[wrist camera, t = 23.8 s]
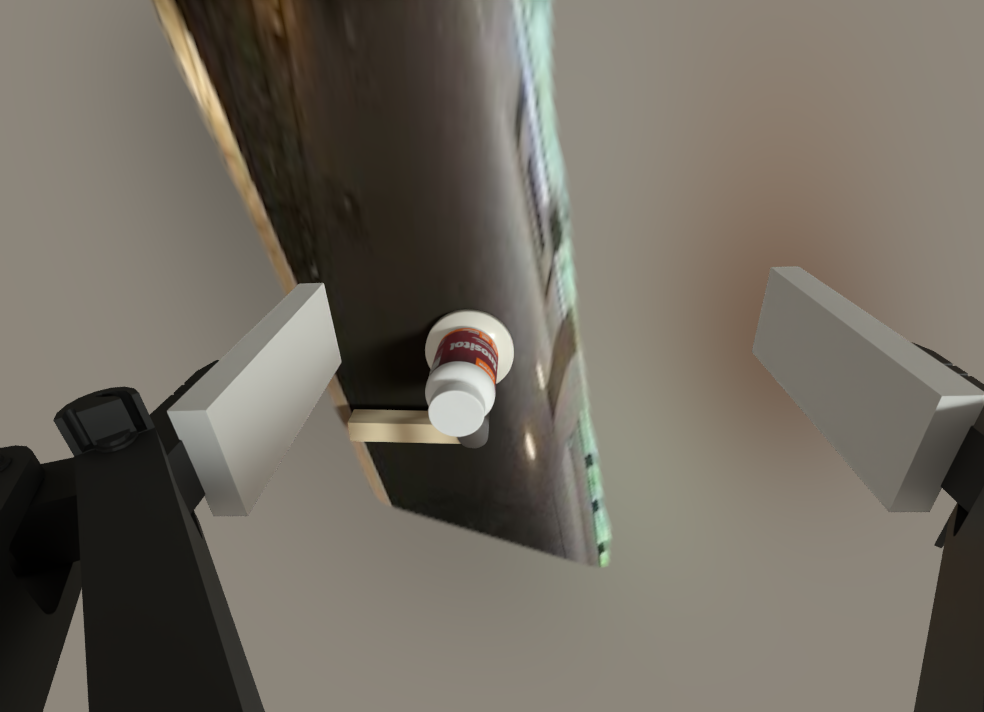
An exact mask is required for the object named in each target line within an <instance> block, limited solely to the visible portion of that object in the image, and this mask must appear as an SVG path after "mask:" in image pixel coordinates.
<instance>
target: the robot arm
mask: <svg viewBox="0 0 984 712" xmlns="http://www.w3.org/2000/svg"><path fill="white" fill-rule="evenodd" d="M752 352H753V354H754V355H755V356H756V357H757V358H758V360H759V361H760V362H761V363H762V364H763V365H764V367H765V368H766V369H767V370H768V371H769V372H770V374H771V375H772V376H773V377H774V378H775V379H776V381H777V382H778V383H779V384H780V385H781V386H782V388H784V390H785V391H786V392H787V393H788V395H789V396H790V397H791V398H792V399H793V400H794V402H795V403H796V404H797V405H798V406H799V408H801V410H802V411H803V412H804V413H805V415H806V416H807V417H808V418H809V419H810V420H811V421H812V423H813V424H814V425H815V426H816V427H817V429H818V430H819V431H820V432H821V433H822V434H823V436H824V437H825V438H826V439H827V440H828V441H829V442H830V444H831V445H832V446H833V447H834V448H835V450H836V451H837V452H838V453H839V454H840V455H841V457H842V458H843V459H844V460H845V461H846V462H847V464H848V465H849V466H850V467H851V468H852V470H853V471H854V472H855V473H856V474H857V475H858V477H859V478H860V479H861V480H862V481H863V482H864V484H865V485H866V486H867V487H868V488H869V489H870V491H871V492H872V493H873V494H874V495H875V496H876V498H877V499H878V500H879V501H880V502H881V503H882V505H883V506H884V507H885V508H886V509H887V510H888V512H930V510H931V508H932V506H933V504H934V502H935V500H936V498H937V496H938V494H939V492H940V490H941V488H943V489H944V490H945V491H946V492H947V493H948V494H949V495H950V496H951V497H952V498H953V499H954V500H955V501H956V502H957V504H956V506H955V508H954V510H953V511H952V513H951V515H950V517H949V519H948V521H947V523H946V524H945V526H944V528H943V530H942V532H941V534H940V535H939V537H938V539H937V541H936V543H935V546H937V547H940V548H942V547H943V546H944V549H943V554H942V560H941V566H940V571H939V576H938V582H937V587H936V593H935V598H934V604H933V609H932V615H931V620H930V626H929V632H928V637H927V642H926V648H925V653H924V659H923V664H922V670H921V675H920V681H919V686H918V692H917V697H916V703H915V708H914V712H984V384H982V383H981V382H980V381H978V380H977V379H975V378H974V377H972V376H968V374H967V373H966V372H965V371H963V370H961V369H960V368H958V367H957V366H952V363H951V362H949V361H948V360H946V359H945V358H943V357H942V356H940V355H939V354H937V353H936V352H934V351H932V350H929V349H927V348H925V347H922V346H920V345H917V344H915V343H912V342H910V341H908V340H907V339H905V338H904V337H902V336H901V335H899V334H898V333H896V332H895V331H893V330H892V329H890V328H889V327H888V326H886V325H885V324H883V323H882V322H880V321H879V320H877V319H876V318H874V317H873V316H871V315H870V314H868V313H867V312H865V311H864V310H862V309H861V308H859V307H858V306H856V305H855V304H853V303H852V302H850V301H849V300H848V299H846V298H845V297H843V296H842V295H840V294H839V293H837V292H835V291H834V290H833V289H831V288H830V287H828V286H827V285H825V284H824V283H822V282H821V281H819V280H818V279H816V278H815V277H813V276H812V275H811V274H809V273H808V272H806V271H804V270H803V269H802V268H800V267H798V266H796V267H771V269H770V274H769V278H768V283H767V287H766V291H765V296H764V300H763V305H762V309H761V314H760V318H759V322H758V327H757V331H756V336H755V340H754V344H753V349H752ZM340 364H341V357H340V353H339V349H338V344H337V340H336V335H335V331H334V327H333V322H332V318H331V313H330V309H329V305H328V300H327V296H326V291H325V287H324V283H309V284H298V285H297V286H296V287H295V288H294V289H293V290H292V291H291V292H290V293H289V294H288V295H287V296H286V297H285V298H284V299H283V300H282V301H281V302H280V303H279V304H278V305H276V307H274V308H273V309H272V310H271V311H270V312H269V313H268V314H267V315H266V316H265V317H264V318H263V319H262V320H261V321H260V322H259V323H258V324H257V325H256V326H255V327H254V328H253V329H252V330H250V331H249V332H248V333H247V334H246V335H245V337H243V338H242V339H241V340H240V341H239V342H238V343H237V344H236V345H235V346H234V347H233V348H232V349H231V350H230V351H229V352H228V353H227V354H226V355H224V357H222V358H221V359H220V360H216V361H214V362H212V363H210V364H209V365H207V366H205V367H203V368H202V369H200V370H198V371H196V372H195V373H194V374H193V375H192V376H191V377H190V378H189V379H188V380H187V381H186V382H185V385H181V386H180V387H179V388H178V389H177V390H176V391H175V392H174V395H171V396H170V397H168V399H166V400H165V401H164V402H163V403H162V404H161V405H160V406H159V407H158V408H157V409H156V410H154V411H153V412H152V413H151V414H150V415H149V414H148V412H147V409H146V407H145V405H144V403H143V401H142V399H141V397H140V394H139V393H138V392H137V391H136V390H135V389H134V388H129V387H115V388H109V389H104V390H100V391H96V392H93V393H91V394H88V395H85V396H83V397H80V398H78V399H76V400H75V401H73V402H71V403H69V404H67V405H66V406H65V407H63V408H62V409H61V410H60V411H59V412H57V414H56V416H55V418H54V422H55V424H56V426H57V427H58V429H59V430H60V432H61V434H62V436H63V438H64V439H65V441H66V443H67V444H68V446H69V448H70V450H71V451H72V453H73V455H74V457H73V458H69V459H63V460H59V461H54V462H49V463H44V464H40V462H39V461H38V459H37V458H36V456H35V455H34V453H33V451H32V450H31V449H29V448H28V447H27V446H16V445H15V446H9V447H4V448H0V712H43V709H44V706H45V703H46V700H47V696H48V693H49V690H50V687H51V684H52V680H53V677H54V674H55V671H56V668H57V665H58V661H59V658H60V655H61V652H62V649H63V646H64V642H65V639H66V636H67V633H68V629H69V626H70V623H71V620H72V617H73V614H74V610H75V607H76V604H77V601H78V598H79V594H80V591H81V588H82V597H83V613H84V614H83V615H84V632H85V650H86V665H87V666H86V667H87V685H88V702H89V712H265V711H264V708H263V705H262V702H261V699H260V696H259V693H258V691H257V688H256V685H255V682H254V679H253V676H252V673H251V670H250V667H249V665H248V662H247V659H246V656H245V653H244V650H243V647H242V645H241V641H240V638H239V636H238V633H237V630H236V627H235V624H234V621H233V618H232V616H231V613H230V610H229V607H228V604H227V601H226V598H225V595H224V592H223V590H222V586H221V584H220V581H219V578H218V575H217V572H216V569H215V566H214V564H213V560H212V558H211V555H210V552H209V549H208V546H207V543H206V540H205V537H204V535H203V531H202V529H201V526H200V523H199V520H198V518H197V516H196V514H195V512H194V509H195V508H196V506H197V505H198V504H199V502H200V501H201V500H202V498H203V497H204V496H205V498H206V500H207V503H208V505H209V507H210V510H211V512H212V514H213V516H248V515H249V513H250V512H251V510H252V509H253V507H254V505H255V504H256V502H257V500H258V499H259V497H260V495H261V494H262V492H263V490H264V489H265V487H266V485H267V484H268V482H269V480H270V479H271V477H272V476H273V474H274V472H275V470H276V469H277V467H278V466H279V464H280V462H281V461H282V459H283V457H284V456H285V454H286V453H287V451H288V449H289V448H290V446H291V444H292V442H293V441H294V439H295V438H296V436H297V434H298V433H299V431H300V430H301V428H302V426H303V425H304V423H305V421H306V420H307V418H308V416H309V415H310V413H311V411H312V410H313V408H314V406H315V405H316V403H317V402H318V400H319V398H320V397H321V395H322V393H323V392H324V390H325V388H326V387H327V385H328V383H329V382H330V380H331V378H332V377H333V375H334V374H335V372H336V370H337V369H338V367H339V365H340Z"/></svg>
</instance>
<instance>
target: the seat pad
mask: <svg viewBox="0 0 984 712" xmlns="http://www.w3.org/2000/svg"><path fill="white" fill-rule="evenodd" d="M459 327H475V328H478V329H481V330H483V331H484V332H486V333H487V334H488V335H490V336H491V337H492V339H493V340H494V342H495V343H496V346H497V349H498V369H497V380H496V384H497V383H498V382H500V381H501V380H502V379H503V378H504V377H505V376H506V375H507V373H508V372H509V370H510V368H511V365H512V363H513V357H514V346H513V340H512V337H511V335H510V332H509V331H508V329H507V328H506V326H505V325H504V324H503V323H502V322H501V321H500V320H499V319H497V318H496V317H495V316H493V315H491V314H489V313H487V312H484V311H481V310H476V309H461V310H456V311H453V312H450V313H448V314H446V315H444V316H443V317H441V318H440V319H439V320H438V321H437V322H436V323H435V324H434V325H433V327H432V329H431V330H430V333H429V335H428V338H427V341H426V346H425V355H426V360H427V362H428V365H429V367H430V369H431V368H432V364H433V361H434V358H435V355H436V352H437V348H438V346H439V343H440V341H441V340H442V338H443V337H444V336H445V335H446V334H447V333H448V332H449V331H451V330H453V329H456V328H459Z"/></svg>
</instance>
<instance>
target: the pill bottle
mask: <svg viewBox="0 0 984 712" xmlns="http://www.w3.org/2000/svg"><path fill="white" fill-rule="evenodd" d="M497 369H498V349H497V346H496V343H495V342H494V340H493V339H492V337H491V336H490V335H488V334H487V333H486V332H484V331H483V330H481V329H478V328H475V327H459V328H456V329H453V330H451V331H449V332H448V333H447V334H446V335H445V336H444V337H443V338H442V340H441V341H440V343H439V346H438V348H437V352H436V355H435V358H434V361H433V364H432V368H431V371H430V374H429V377H428V380H427V384H426V389H425V395H426V400H427V403H428V405H429V408H428V415H429V419H430V421H431V423H432V425H433V426H434V427H435V428H436V429H437V430H438V431H440V432H441V433H443V434H446V435H449V436H454V437H462V436H467V435H470V434H472V433H474V432H475V431H476V430H478V429H479V427H480V426H481V425H482V423H483V420H484V417H485V416H486V415H487V414H488V412H489V411H490V410H491V408H492V406H493V403H494V400H495V392H496V380H497Z"/></svg>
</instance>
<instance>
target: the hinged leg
mask: <svg viewBox="0 0 984 712" xmlns="http://www.w3.org/2000/svg"><path fill="white" fill-rule="evenodd" d="M489 417H490V413H489V412H488V414H487V415H486V416H485V417H484V420H483V423H482V425H481V426H480V427H479V429H478V430H476V431H475V432H474V433H472V434H470V435H467V436H462V437H454V436H449V435H446V434H443V433H441V432H440V431H438V430H437V429H436V428H435V427H434V426H433V425H432V423H431V421H430V419H429V415H428V411H408V410H361V409H354V410H353V413H352V415H351V417H350V419H349V421H348V428H349V434H350V439H351V441H371V442H413V443H455V444H462V445H464V446H466V447H468V448H478V447H481V446H483V445H484V444H485V443H486V442H487V439H488V430H489Z"/></svg>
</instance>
